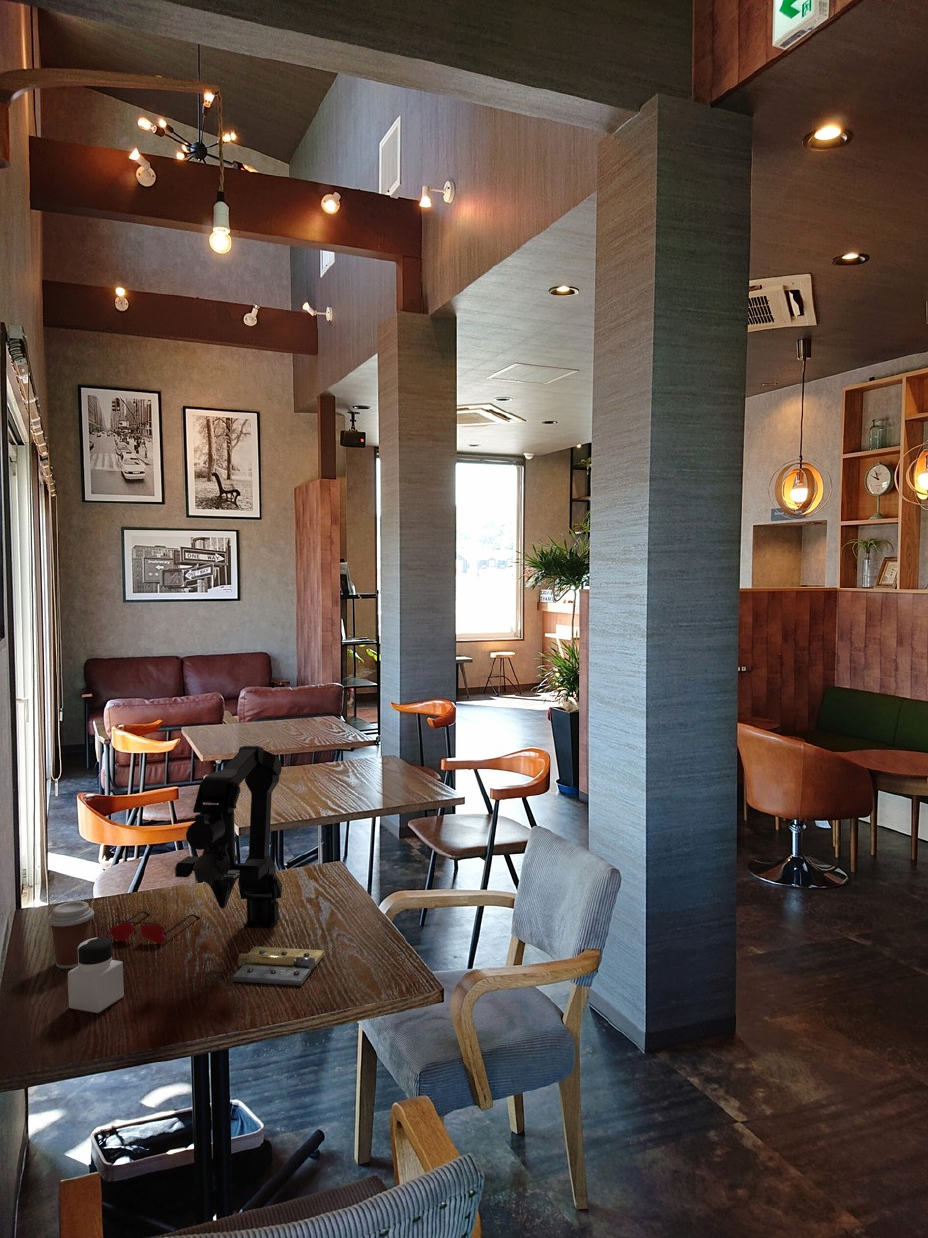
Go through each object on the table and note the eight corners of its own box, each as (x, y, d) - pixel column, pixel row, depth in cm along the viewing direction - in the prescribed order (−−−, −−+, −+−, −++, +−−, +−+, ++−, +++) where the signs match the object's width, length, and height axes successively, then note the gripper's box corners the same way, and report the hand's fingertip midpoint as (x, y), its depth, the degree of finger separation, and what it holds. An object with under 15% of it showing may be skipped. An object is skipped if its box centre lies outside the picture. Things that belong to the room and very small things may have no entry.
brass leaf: (238, 967, 180) (237, 956, 180) (254, 951, 188) (254, 940, 188) (311, 972, 177) (310, 961, 177) (324, 955, 185) (324, 944, 185)
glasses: (108, 943, 195) (107, 922, 195) (148, 916, 211) (148, 896, 211) (164, 947, 192) (163, 925, 192) (200, 919, 208) (200, 899, 208)
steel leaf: (232, 981, 174) (232, 969, 174) (249, 963, 182) (249, 952, 182) (300, 985, 171) (300, 974, 171) (315, 967, 180) (315, 956, 179)
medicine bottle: (124, 996, 168) (122, 936, 168) (98, 1014, 161) (96, 951, 161) (95, 991, 171) (93, 932, 170) (68, 1008, 164) (65, 946, 163)
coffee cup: (86, 949, 191) (84, 896, 190) (102, 961, 184) (100, 906, 184) (42, 962, 185) (40, 907, 184) (58, 975, 178) (56, 918, 178)
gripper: (160, 845, 175) (162, 920, 176) (246, 848, 172) (248, 925, 173) (186, 829, 186) (189, 900, 187) (268, 832, 183) (270, 904, 184)
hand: (222, 908), depth 182 cm, fingers closed
